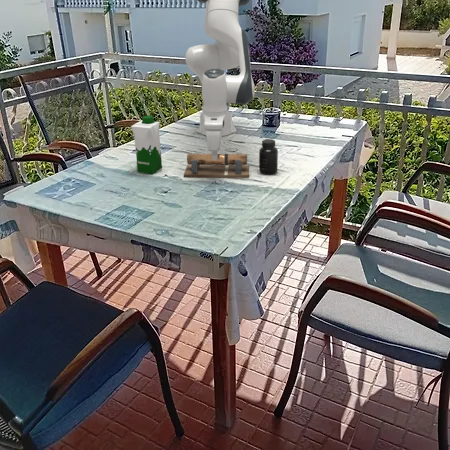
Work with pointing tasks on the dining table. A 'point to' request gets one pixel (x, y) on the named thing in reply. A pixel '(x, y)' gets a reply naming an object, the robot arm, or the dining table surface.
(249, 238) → the dining table surface
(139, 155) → the milk carton
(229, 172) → the cradle board
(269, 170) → the supplement bottle
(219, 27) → the robot arm
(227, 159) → the copper tube
